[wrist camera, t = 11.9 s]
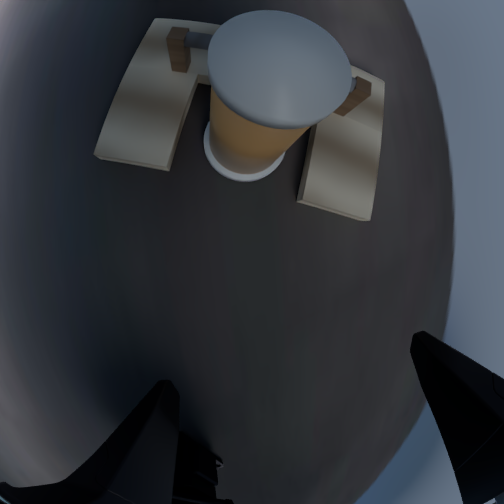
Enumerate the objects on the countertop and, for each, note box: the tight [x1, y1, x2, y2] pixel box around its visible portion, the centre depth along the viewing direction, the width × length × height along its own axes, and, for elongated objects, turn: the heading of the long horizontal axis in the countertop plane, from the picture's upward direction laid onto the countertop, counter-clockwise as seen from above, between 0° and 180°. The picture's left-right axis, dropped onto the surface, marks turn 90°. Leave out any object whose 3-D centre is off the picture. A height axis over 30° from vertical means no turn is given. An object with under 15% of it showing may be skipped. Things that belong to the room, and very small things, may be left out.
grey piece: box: [94, 18, 385, 221], centre depth 17 cm, size 14×22×6 cm, turn 77°
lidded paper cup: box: [204, 10, 352, 182], centre depth 15 cm, size 6×6×12 cm
